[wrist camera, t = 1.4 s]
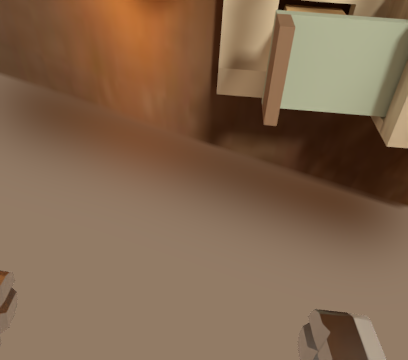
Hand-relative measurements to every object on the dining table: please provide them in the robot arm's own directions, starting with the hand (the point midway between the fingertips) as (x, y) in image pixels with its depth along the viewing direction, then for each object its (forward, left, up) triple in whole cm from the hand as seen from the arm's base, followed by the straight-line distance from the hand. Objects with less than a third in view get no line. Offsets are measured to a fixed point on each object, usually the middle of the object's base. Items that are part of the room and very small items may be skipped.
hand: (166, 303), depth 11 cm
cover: (-11, +2, -24) cm, 27 cm away
